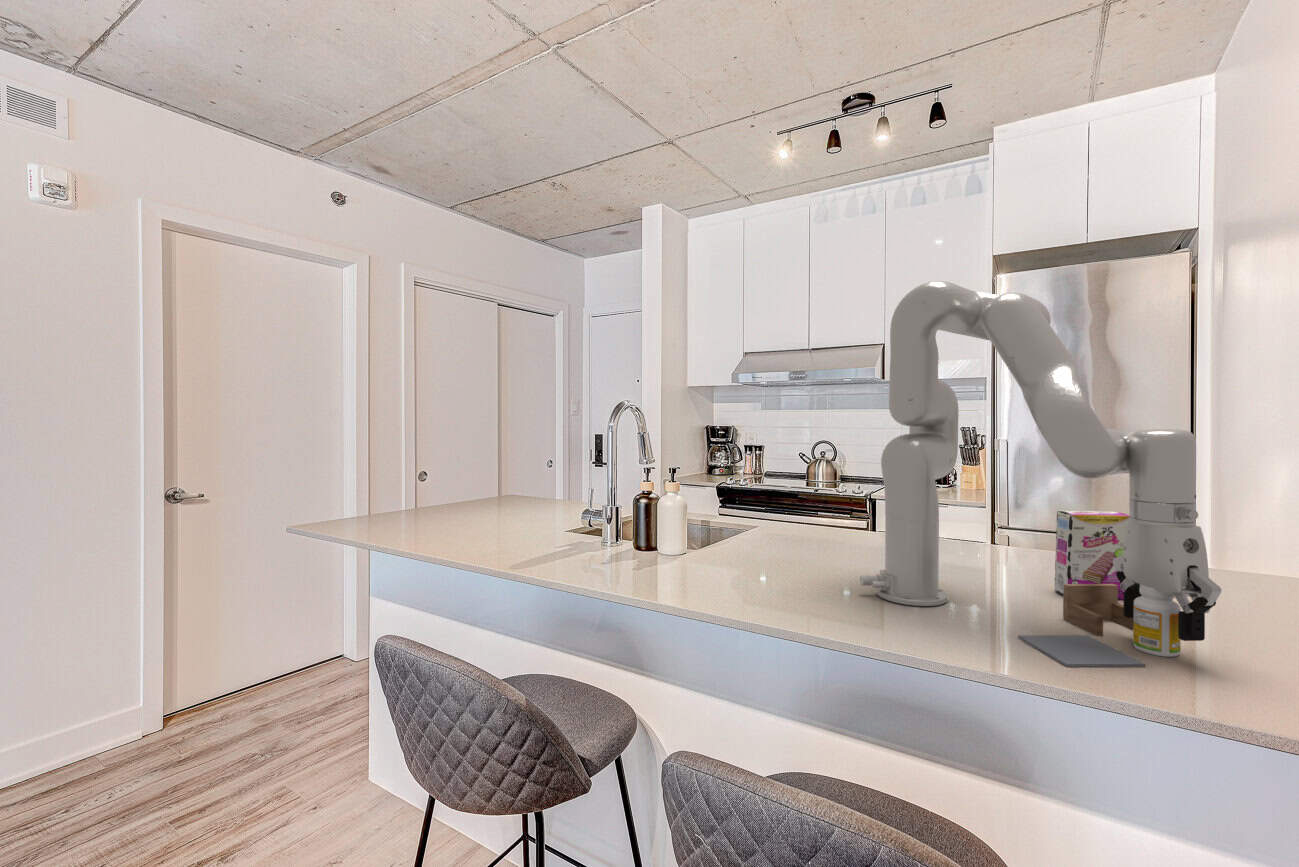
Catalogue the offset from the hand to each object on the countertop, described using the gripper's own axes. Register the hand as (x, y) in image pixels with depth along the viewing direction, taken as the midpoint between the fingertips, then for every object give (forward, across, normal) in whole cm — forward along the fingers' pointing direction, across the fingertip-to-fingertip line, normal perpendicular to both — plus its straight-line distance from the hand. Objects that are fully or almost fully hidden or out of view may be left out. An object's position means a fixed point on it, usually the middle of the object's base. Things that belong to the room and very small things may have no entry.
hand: (1161, 627), depth 89 cm
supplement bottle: (+4, 0, 0) cm, 4 cm away
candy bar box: (+4, +27, -10) cm, 29 cm away
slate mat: (+3, 0, +12) cm, 13 cm away
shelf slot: (+3, +10, 0) cm, 11 cm away
